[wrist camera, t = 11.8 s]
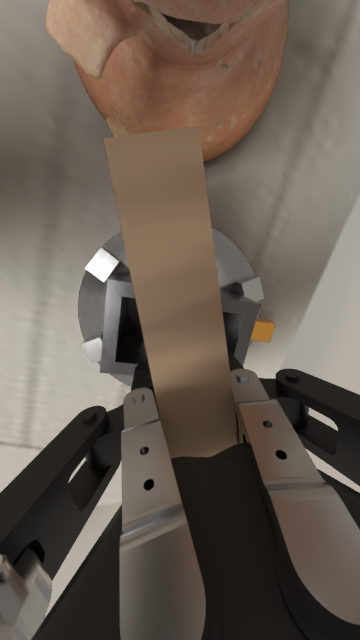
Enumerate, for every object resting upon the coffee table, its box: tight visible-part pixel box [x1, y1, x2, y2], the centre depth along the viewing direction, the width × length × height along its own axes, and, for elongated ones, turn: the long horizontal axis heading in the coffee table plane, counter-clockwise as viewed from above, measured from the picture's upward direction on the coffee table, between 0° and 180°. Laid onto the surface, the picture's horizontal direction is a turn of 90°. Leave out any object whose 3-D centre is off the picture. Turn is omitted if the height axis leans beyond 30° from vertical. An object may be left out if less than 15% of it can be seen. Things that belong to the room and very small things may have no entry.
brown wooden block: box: [103, 126, 238, 459], centre depth 11 cm, size 7×3×15 cm
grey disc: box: [78, 228, 275, 387], centre depth 19 cm, size 19×18×7 cm
